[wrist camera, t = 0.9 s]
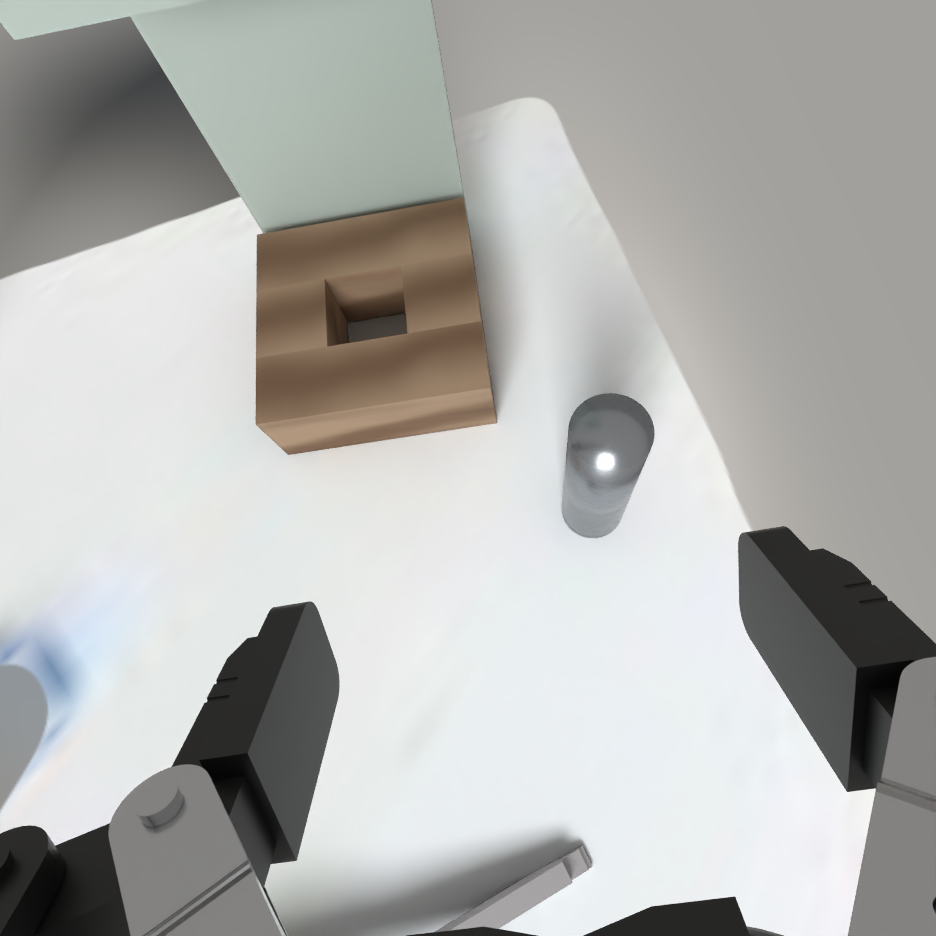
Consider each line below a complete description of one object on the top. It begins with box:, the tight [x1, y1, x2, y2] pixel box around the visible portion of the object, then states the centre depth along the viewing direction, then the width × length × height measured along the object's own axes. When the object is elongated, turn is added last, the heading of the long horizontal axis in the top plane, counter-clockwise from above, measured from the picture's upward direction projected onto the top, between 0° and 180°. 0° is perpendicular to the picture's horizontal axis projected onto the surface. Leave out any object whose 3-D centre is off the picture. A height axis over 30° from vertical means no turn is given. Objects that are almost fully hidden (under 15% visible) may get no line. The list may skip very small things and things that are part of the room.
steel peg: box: [562, 393, 654, 538], centre depth 32 cm, size 4×4×12 cm
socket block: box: [256, 198, 497, 455], centre depth 41 cm, size 14×14×5 cm
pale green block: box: [0, 0, 470, 234], centre depth 33 cm, size 11×14×25 cm
